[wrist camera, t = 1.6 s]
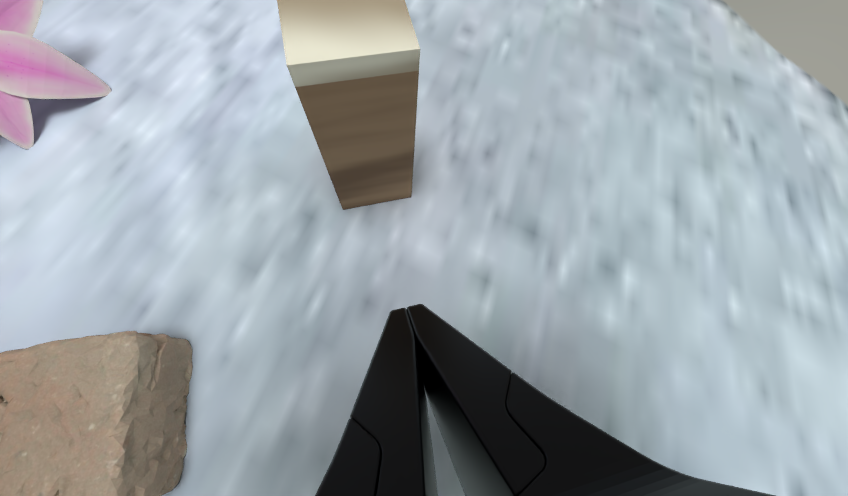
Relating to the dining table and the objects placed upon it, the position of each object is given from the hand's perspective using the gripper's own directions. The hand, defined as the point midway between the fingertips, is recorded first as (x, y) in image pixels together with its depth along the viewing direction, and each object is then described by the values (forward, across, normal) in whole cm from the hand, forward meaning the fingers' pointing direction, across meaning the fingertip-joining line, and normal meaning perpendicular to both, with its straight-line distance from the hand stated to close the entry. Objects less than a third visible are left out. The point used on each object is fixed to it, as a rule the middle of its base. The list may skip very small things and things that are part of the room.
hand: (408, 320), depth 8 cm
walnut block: (+18, 0, 0) cm, 18 cm away
